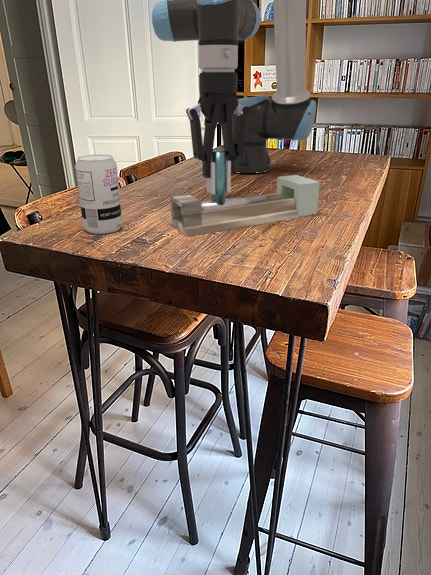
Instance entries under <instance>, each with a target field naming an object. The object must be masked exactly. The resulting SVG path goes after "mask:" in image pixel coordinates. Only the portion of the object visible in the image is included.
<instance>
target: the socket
mask: <svg viewBox="0 0 431 575" xmlns="http://www.w3.org/2000/svg"><path fill="white" fill-rule="evenodd" d="M276 178H277V180H276V193H280V194H281V200H282V199H289V198H293V199H295V210H296V211H298V218H300V217H306V216H312V214H313V215H317V214H318V203H319V192H320V181H319V180H318V181H317V180H314V179H312V178H308V177H305V176H301V175H298V174H292V175H285V176H277V177H276Z"/></svg>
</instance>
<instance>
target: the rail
mask: <svg viewBox="0 0 431 575" xmlns="http://www.w3.org/2000/svg"><path fill="white" fill-rule="evenodd" d="M263 194H264V193H263ZM264 195H265V196H266V198H267V202H262V203H255V204H248V205H241V206H234V207H227V208H220V209H213V210H207V211H202V206H201V202H202V200H200V199H198V198H196V197H194V196H193V195H191V194H189V193H182V194H175V195H170V212H171V214H170V216H168V221H169V223H168V224H170V225H171V226H172V227H174V228H175V229H176V230H178V231H179V232H180V233H182V234H183V235H185V236H187V237H191V236H199V235H203V234H204V235H205V234H210V233H215V232H216V233H217V232H222V231H229V230H234V229H235V230H236V229H240V228H245V227H252V226H257V225H262V224H264V225H265V224H270V223H275V222H281V221H286V220H287V221H288V220H292V219H297V218H299V217H298V211H296V210H295V199H293V198H289V199H282V200H281V194H280V193H277V192H273V193H266V194H264ZM180 207H181V213H182V218H181V216H180Z"/></svg>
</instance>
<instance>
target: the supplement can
mask: <svg viewBox="0 0 431 575" xmlns="http://www.w3.org/2000/svg"><path fill="white" fill-rule="evenodd" d="M76 159H77V160H76V163H75V165H74V166H75V168H74V169H75V175H76V183H77V190H78V197H79V206H80V211H81V219H82V220H81V221H82V227H83V229H84V230H86V232H88V233H90V234H94V235H105V234H112V233H115V232H118V231H119V230H120V229H121V228H122V226H123V224H124V223H123V217H122V216H123V215H122V204H121V203H122V202H121V195H120V185H119V176H118V166H117V165H118V164H117V162H116V161H115V159H114V157H113V155H110V154H86V155H82V156H77V158H76Z"/></svg>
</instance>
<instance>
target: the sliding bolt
mask: <svg viewBox="0 0 431 575" xmlns="http://www.w3.org/2000/svg"><path fill="white" fill-rule="evenodd" d="M212 162H215V194H211V200H205V201H201V206H202V211H207V210H213V209H220V208H227V207H234V206H241V205H248V204H255V203H262V202H267V198H266V196H265V195H264V193H258V194H252V195H243V196H237V197H235V196H234V197H230V198H226V193H227V192H226V151H224V149H223V150H222V149H217V150H216V149H213V153H212ZM180 216H181V218H182V213H181V207H180Z"/></svg>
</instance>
